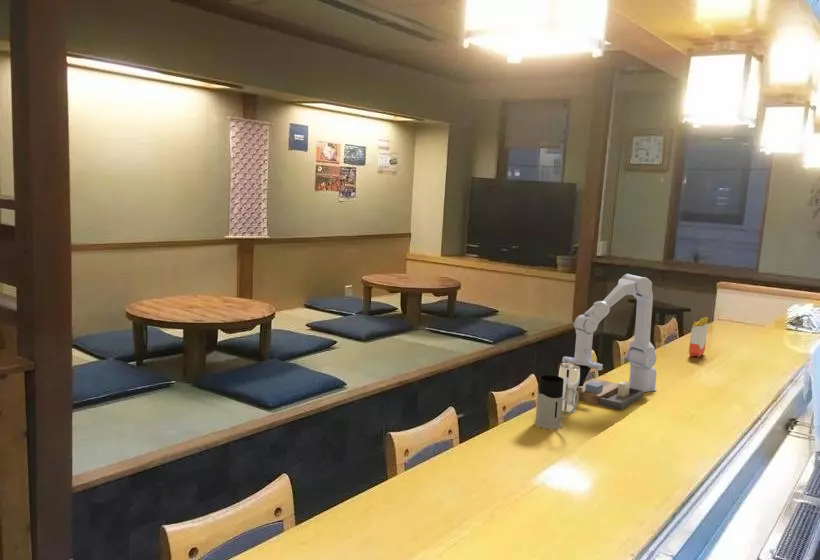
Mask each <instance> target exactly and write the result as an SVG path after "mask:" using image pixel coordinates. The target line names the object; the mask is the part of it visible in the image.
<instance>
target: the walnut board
mask: <svg viewBox="0 0 820 560" xmlns="http://www.w3.org/2000/svg"><path fill="white" fill-rule="evenodd" d="M589 382H595V383H600V384H603V391H602V392H600V393H598V394H596V393H592V392H588V391H585V388H586V384H587V383H589ZM577 392H578V396H579V398H578V401H581V402H582V401H583V402H587V403H590V404H595V405H599V406H601V405H600V398H605V399H607V398H609V397H611V396H612V395H614V394H616V393H618V383H617V382H612V381H608V380H605V379H604V380H603V379H599V378H595V377H593V378H590V379H587V380H585V381H584V385H583V386H579V387H578V391H577ZM576 399H577V395H576Z"/></svg>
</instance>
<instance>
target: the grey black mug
mask: <svg viewBox="0 0 820 560" xmlns="http://www.w3.org/2000/svg"><path fill="white" fill-rule="evenodd" d="M563 384H564V379H563V378H561V377H559V375H551V374H545V375H540V376H539V379H538V386H537V398H536V412H535V413H536V414H535V420H534V421H533V424H534V423H535V424H536V425H537V426H539V427H538V428H540V427H542V428H541V429H543V428H548V429H547V430H551V429H555V430H559V428H560V429H561V427H562V428H563V424H562V420H563V419H565V418H566V417H568V416H569V415H571V414H573V413H574V412H573V411H574V410H575V408H576V409H577V406H578V403H579V400H578V398H579V396H578V392H577V391H576V390H575V389H573V388H569V389H567V390H566V392H565V398H563ZM570 389H572V390H574V391H575V392H576V395H577V399H576V400H575V407H574V408H573V410H572V411H571V412H570V413H567V414H565V415H564V416H563V415H562V414H563V412H562V404H563V400H564V399H566V397H567V392H568V390H570ZM572 412H573V413H572ZM535 424H534V425H535ZM536 425H535V426H536ZM537 426H536V427H537Z"/></svg>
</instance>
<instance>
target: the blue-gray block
mask: <svg viewBox="0 0 820 560" xmlns="http://www.w3.org/2000/svg"><path fill="white" fill-rule="evenodd" d="M585 391H588V392H592V393H596V394H598V393H600V392H602V391H603V384H600V383H595V382H589V383H587V384H586V388H585Z"/></svg>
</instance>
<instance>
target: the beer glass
mask: <svg viewBox="0 0 820 560" xmlns="http://www.w3.org/2000/svg"><path fill="white" fill-rule="evenodd" d="M558 377H561V378H563V379H564V384H563V398H565V392H566V390H567V389H569V388H573V389H575V390H576V391H578V387H579V382H580V367H579V366H576V365H574V364H570V363H563V364H562V363H561V364H560V366H559V371H558ZM575 404H576V392H575V391H574V390H572V389H570V390H568V392H567V397H566V399H564V400H563V404H562V413H567V414H568V413H570V412H571V411H572V410H573V408H574V407H575ZM576 411H577V407H576V408H575V410H574V411H573V412H572V413H571V414H573V413H575V412H576Z"/></svg>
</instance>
